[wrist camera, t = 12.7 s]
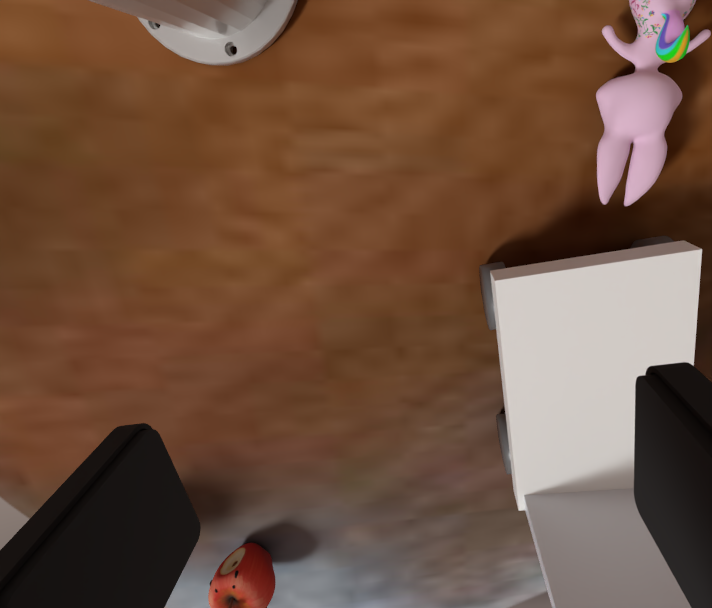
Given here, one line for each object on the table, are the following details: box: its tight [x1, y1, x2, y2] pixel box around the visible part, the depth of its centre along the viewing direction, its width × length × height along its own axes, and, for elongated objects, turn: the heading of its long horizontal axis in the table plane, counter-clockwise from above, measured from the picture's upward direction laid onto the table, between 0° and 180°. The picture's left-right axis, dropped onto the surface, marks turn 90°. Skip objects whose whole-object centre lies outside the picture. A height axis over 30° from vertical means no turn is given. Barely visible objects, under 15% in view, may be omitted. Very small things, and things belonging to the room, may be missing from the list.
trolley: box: [479, 236, 702, 608], centre depth 30 cm, size 20×13×18 cm, turn 12°
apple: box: [209, 543, 275, 608], centre depth 48 cm, size 8×7×10 cm
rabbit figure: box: [596, 0, 711, 206], centre depth 28 cm, size 6×6×15 cm
